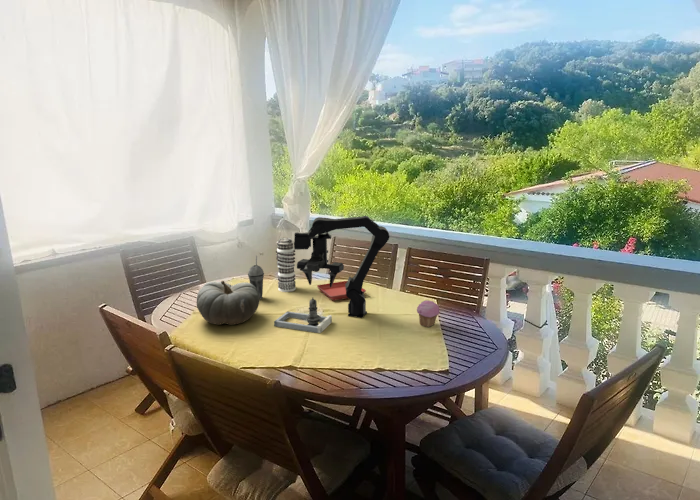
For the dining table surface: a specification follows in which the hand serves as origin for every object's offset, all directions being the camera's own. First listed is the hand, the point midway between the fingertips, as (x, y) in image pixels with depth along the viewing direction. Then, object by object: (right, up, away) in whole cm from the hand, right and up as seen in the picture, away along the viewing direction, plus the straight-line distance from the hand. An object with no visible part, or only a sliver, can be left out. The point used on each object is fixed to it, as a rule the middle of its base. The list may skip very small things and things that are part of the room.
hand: (320, 285), depth 203 cm
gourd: (-37, -14, 0) cm, 40 cm away
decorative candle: (-18, -4, +36) cm, 40 cm away
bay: (-7, -15, -6) cm, 17 cm away
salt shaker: (-2, -16, -7) cm, 17 cm away
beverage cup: (-31, -8, +24) cm, 39 cm away
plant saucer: (+8, -6, +29) cm, 31 cm away
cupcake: (+43, -15, -7) cm, 46 cm away
